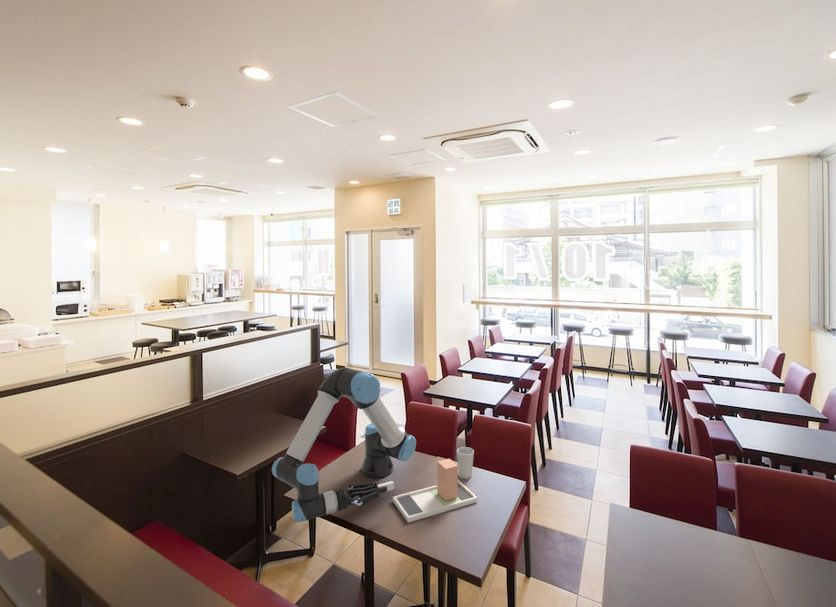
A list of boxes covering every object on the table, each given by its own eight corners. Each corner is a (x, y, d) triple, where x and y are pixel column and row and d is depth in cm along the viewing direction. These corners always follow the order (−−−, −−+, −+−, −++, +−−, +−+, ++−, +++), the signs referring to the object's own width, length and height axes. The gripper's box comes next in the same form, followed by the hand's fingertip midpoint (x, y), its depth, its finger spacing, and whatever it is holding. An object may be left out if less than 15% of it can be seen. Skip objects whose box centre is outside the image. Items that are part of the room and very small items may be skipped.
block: (437, 492, 175) (437, 461, 174) (449, 489, 178) (449, 458, 176) (445, 500, 169) (445, 468, 167) (457, 497, 171) (457, 465, 170)
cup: (460, 469, 198) (460, 445, 196) (475, 473, 194) (476, 449, 193) (454, 477, 191) (454, 452, 189) (470, 481, 187) (470, 456, 186)
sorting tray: (392, 501, 171) (392, 496, 171) (458, 483, 185) (458, 479, 184) (408, 522, 157) (408, 517, 157) (477, 501, 171) (477, 497, 170)
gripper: (331, 500, 158) (387, 485, 169) (340, 520, 147) (399, 502, 157) (330, 482, 158) (387, 468, 168) (339, 500, 146) (399, 484, 156)
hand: (393, 484), depth 162 cm, fingers closed
